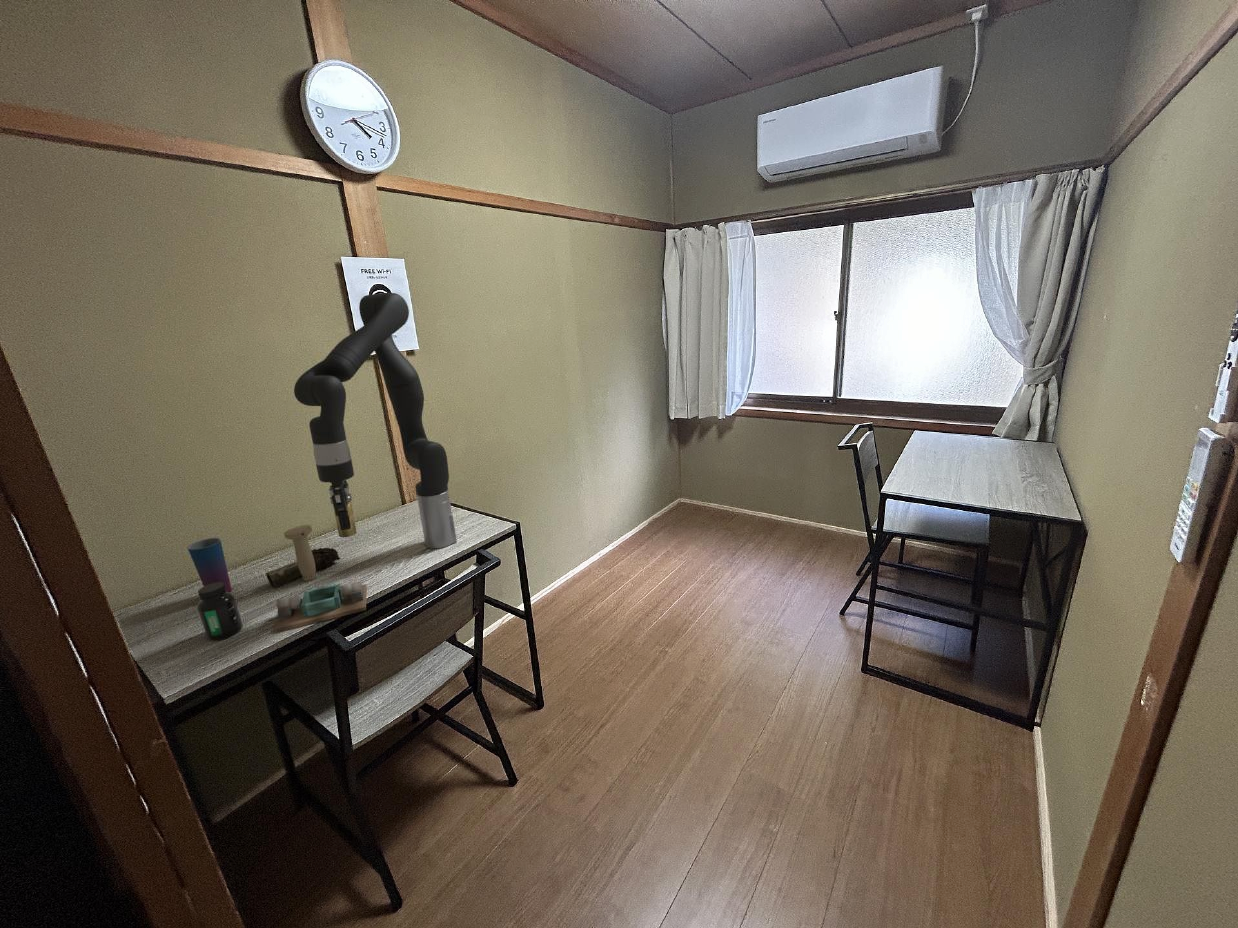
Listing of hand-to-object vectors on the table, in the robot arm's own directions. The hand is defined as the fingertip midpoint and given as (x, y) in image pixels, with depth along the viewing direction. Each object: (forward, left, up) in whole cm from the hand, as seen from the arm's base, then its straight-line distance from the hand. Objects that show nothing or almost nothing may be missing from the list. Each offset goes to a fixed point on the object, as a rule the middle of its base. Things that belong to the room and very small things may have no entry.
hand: (346, 525), depth 125 cm
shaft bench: (+8, +2, -20) cm, 22 cm away
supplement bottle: (+29, +2, -20) cm, 35 cm away
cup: (+35, -20, -20) cm, 45 cm away
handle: (+14, -17, -20) cm, 30 cm away
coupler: (0, 0, -2) cm, 2 cm away
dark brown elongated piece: (+15, -22, -20) cm, 34 cm away
